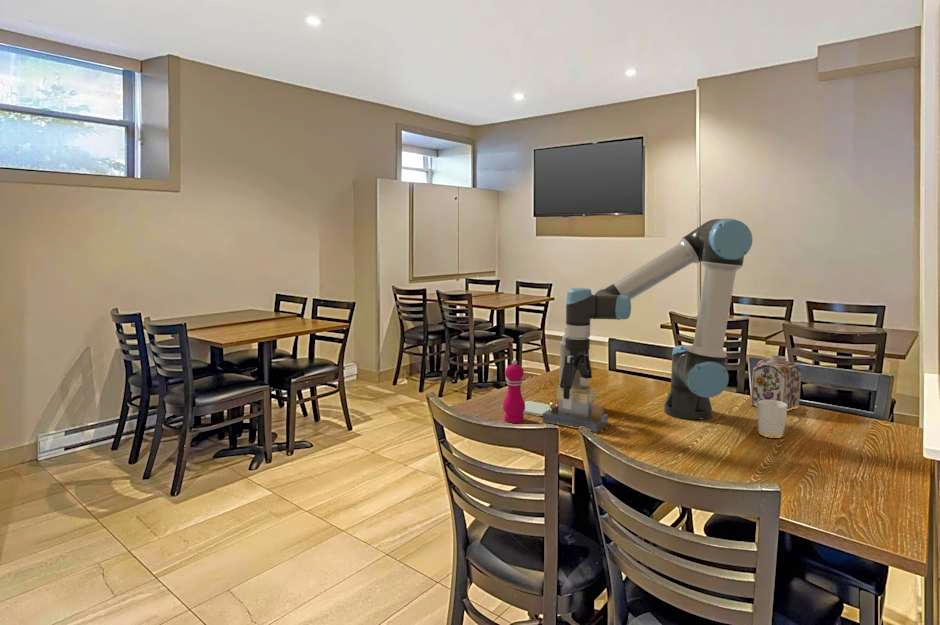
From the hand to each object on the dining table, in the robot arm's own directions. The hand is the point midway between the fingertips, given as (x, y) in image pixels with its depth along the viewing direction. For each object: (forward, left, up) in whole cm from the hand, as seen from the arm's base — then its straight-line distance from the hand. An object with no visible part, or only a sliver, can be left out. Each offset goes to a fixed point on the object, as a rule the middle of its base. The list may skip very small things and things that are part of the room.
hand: (575, 403), depth 188 cm
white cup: (-54, -21, -7) cm, 58 cm away
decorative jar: (-52, -53, -7) cm, 75 cm away
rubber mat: (+17, -5, -7) cm, 19 cm away
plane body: (0, 0, -7) cm, 7 cm away
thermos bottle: (+9, -17, -7) cm, 20 cm away
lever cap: (0, 0, +1) cm, 1 cm away
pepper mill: (+18, +8, -7) cm, 21 cm away
